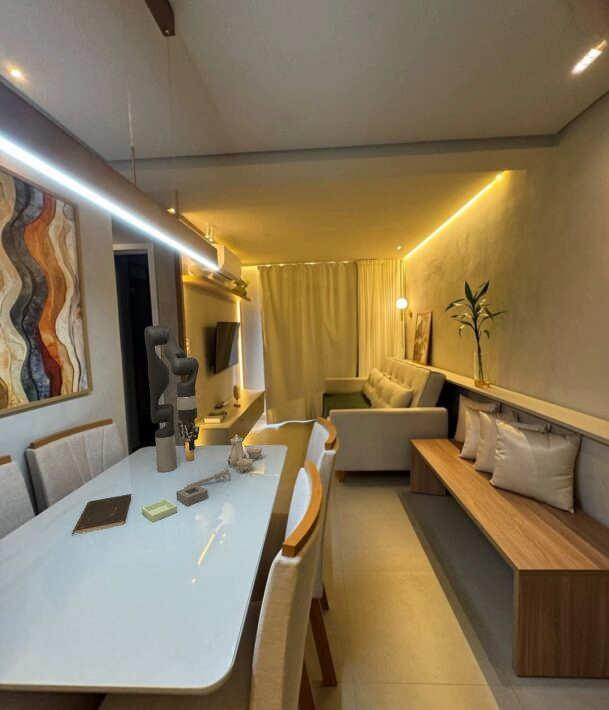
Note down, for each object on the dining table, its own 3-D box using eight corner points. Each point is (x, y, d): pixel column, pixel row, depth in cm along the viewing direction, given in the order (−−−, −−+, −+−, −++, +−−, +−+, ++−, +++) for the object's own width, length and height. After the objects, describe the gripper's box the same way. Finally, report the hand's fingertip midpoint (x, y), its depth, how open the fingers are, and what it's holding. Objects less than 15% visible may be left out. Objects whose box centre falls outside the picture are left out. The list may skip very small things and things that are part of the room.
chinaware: (253, 479, 163) (255, 444, 162) (219, 476, 163) (220, 442, 163) (263, 458, 191) (264, 428, 190) (233, 456, 191) (234, 426, 190)
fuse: (184, 460, 140) (183, 438, 139) (192, 458, 142) (190, 436, 142) (188, 462, 138) (187, 440, 137) (196, 459, 140) (195, 438, 140)
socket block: (176, 499, 140) (176, 491, 140) (196, 492, 147) (196, 484, 147) (187, 506, 134) (187, 497, 134) (208, 498, 141) (207, 489, 141)
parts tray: (142, 514, 130) (141, 507, 129) (166, 505, 136) (165, 499, 136) (152, 522, 123) (152, 515, 123) (177, 512, 130) (176, 506, 130)
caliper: (230, 480, 159) (229, 467, 159) (230, 481, 158) (230, 467, 158) (183, 488, 152) (182, 474, 152) (183, 489, 151) (183, 475, 151)
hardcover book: (131, 499, 144) (131, 493, 144) (124, 526, 123) (124, 519, 123) (87, 507, 138) (87, 501, 138) (72, 537, 117) (71, 530, 117)
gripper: (170, 406, 141) (172, 448, 142) (187, 410, 131) (189, 455, 132) (187, 403, 146) (189, 443, 147) (204, 407, 137) (207, 450, 138)
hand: (189, 448), depth 140 cm, fingers closed on fuse, 3 cm apart
